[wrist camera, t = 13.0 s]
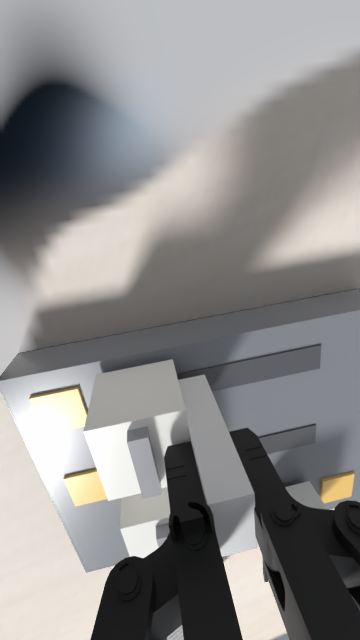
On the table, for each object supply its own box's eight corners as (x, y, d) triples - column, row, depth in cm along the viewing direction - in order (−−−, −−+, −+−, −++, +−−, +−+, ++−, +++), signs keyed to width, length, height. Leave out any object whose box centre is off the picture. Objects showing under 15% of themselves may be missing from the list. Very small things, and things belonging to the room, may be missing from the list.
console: (91, 529, 24) (85, 575, 21) (18, 353, 17) (-6, 383, 14) (337, 469, 26) (364, 503, 23) (358, 288, 19) (399, 303, 16)
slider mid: (136, 503, 18) (137, 591, 14) (122, 458, 17) (119, 543, 13) (196, 488, 19) (214, 570, 15) (188, 443, 17) (206, 520, 13)
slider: (113, 433, 16) (106, 514, 12) (95, 374, 15) (80, 443, 10) (182, 418, 16) (200, 492, 12) (172, 359, 15) (188, 420, 11)
